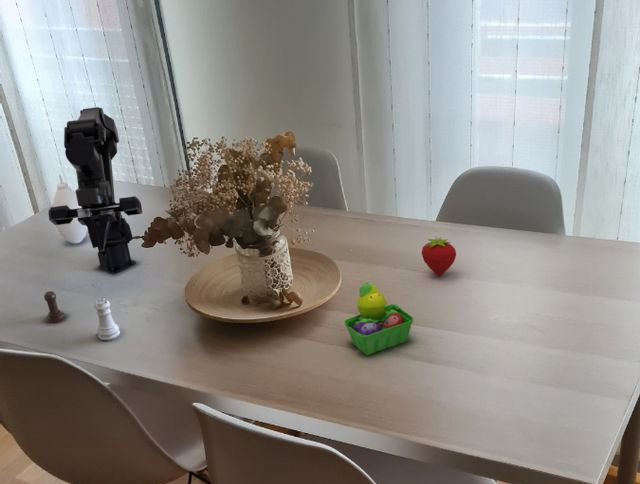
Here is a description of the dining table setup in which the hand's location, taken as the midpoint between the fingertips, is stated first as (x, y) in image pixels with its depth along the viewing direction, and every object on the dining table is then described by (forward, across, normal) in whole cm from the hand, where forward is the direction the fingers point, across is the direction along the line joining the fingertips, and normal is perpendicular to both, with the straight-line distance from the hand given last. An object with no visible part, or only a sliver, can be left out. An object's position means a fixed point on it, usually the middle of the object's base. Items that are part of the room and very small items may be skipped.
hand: (101, 251), depth 183 cm
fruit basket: (+28, +52, -22) cm, 63 cm away
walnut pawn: (+13, -12, +2) cm, 17 cm away
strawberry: (+16, +70, -3) cm, 72 cm away
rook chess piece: (+19, 0, -7) cm, 20 cm away
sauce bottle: (-10, -11, +36) cm, 39 cm away
